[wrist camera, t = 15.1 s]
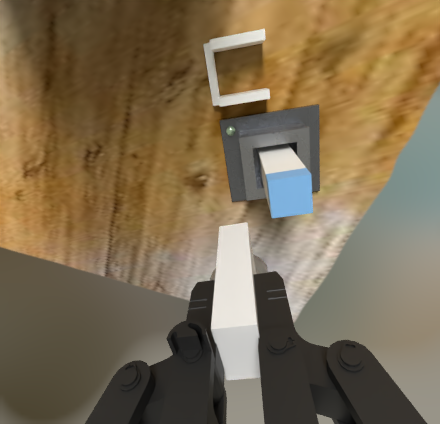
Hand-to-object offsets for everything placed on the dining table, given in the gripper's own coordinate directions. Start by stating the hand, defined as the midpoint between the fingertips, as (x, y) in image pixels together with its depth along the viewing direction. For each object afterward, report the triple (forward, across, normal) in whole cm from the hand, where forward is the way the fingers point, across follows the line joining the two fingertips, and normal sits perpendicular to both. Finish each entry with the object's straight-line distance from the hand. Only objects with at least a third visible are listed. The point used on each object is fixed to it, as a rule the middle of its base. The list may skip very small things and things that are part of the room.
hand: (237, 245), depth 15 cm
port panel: (+27, +5, -4) cm, 27 cm away
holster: (+27, +2, +8) cm, 28 cm away
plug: (+26, +5, -4) cm, 27 cm away
